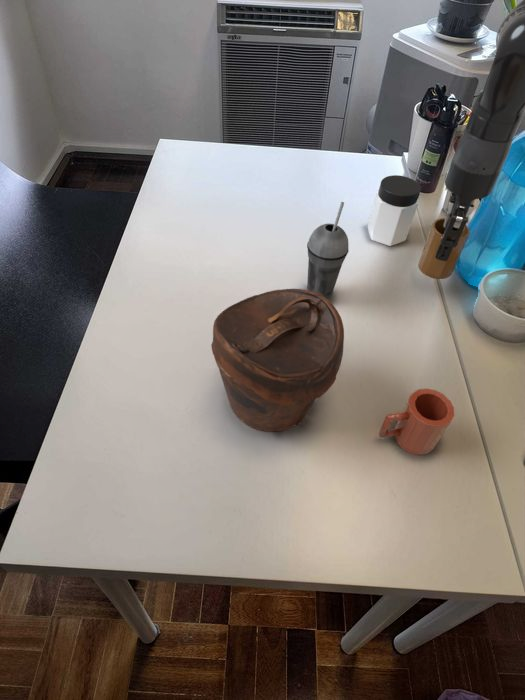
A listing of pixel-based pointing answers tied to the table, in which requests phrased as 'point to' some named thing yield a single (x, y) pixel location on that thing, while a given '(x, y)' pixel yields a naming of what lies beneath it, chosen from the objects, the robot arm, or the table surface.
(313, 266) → the beverage cup
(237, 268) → the table surface
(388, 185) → the jar
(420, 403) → the mug
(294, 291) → the case
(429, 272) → the wooden cup
